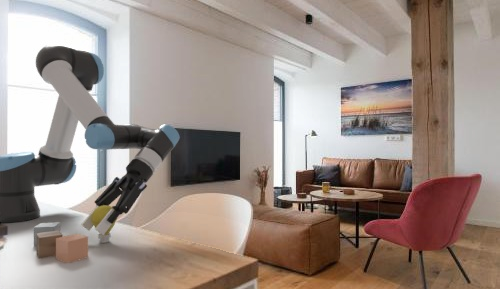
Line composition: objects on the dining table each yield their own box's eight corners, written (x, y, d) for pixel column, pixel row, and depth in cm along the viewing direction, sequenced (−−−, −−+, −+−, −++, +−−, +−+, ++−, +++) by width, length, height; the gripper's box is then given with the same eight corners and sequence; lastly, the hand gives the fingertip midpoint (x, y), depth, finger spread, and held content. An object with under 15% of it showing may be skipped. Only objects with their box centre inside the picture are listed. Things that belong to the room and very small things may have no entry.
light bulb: (85, 243, 95) (85, 206, 95) (103, 237, 101) (103, 202, 101) (105, 246, 93) (105, 208, 92) (122, 239, 99) (122, 204, 99)
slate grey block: (40, 240, 98) (40, 223, 98) (60, 239, 99) (60, 222, 99) (33, 246, 93) (33, 227, 93) (54, 245, 94) (54, 226, 94)
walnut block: (36, 253, 87) (36, 233, 87) (59, 249, 90) (59, 230, 90) (39, 258, 83) (38, 237, 83) (62, 254, 86) (62, 234, 86)
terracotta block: (55, 259, 83) (55, 238, 83) (76, 253, 87) (76, 233, 87) (67, 263, 80) (67, 241, 80) (88, 257, 84) (88, 236, 84)
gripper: (171, 176, 103) (121, 244, 90) (132, 172, 115) (83, 231, 102) (156, 158, 98) (101, 227, 86) (117, 156, 111) (64, 216, 98)
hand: (92, 229), depth 94 cm, fingers closed on light bulb, 7 cm apart
